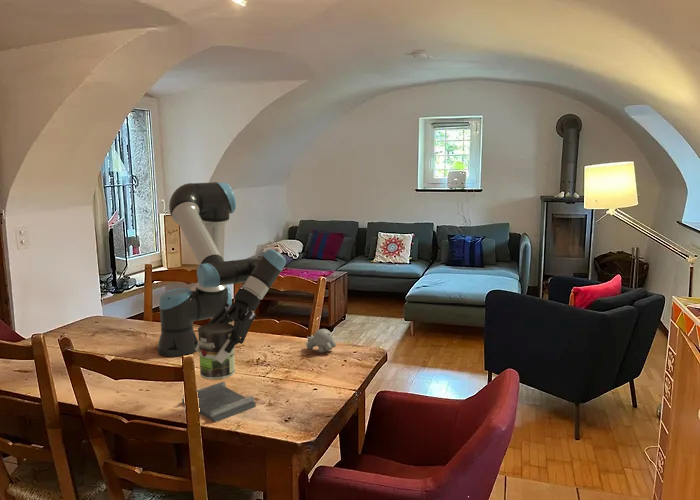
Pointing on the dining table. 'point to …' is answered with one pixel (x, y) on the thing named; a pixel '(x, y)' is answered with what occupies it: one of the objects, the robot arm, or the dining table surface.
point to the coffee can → (215, 351)
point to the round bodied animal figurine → (321, 340)
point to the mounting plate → (222, 402)
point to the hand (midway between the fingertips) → (208, 356)
